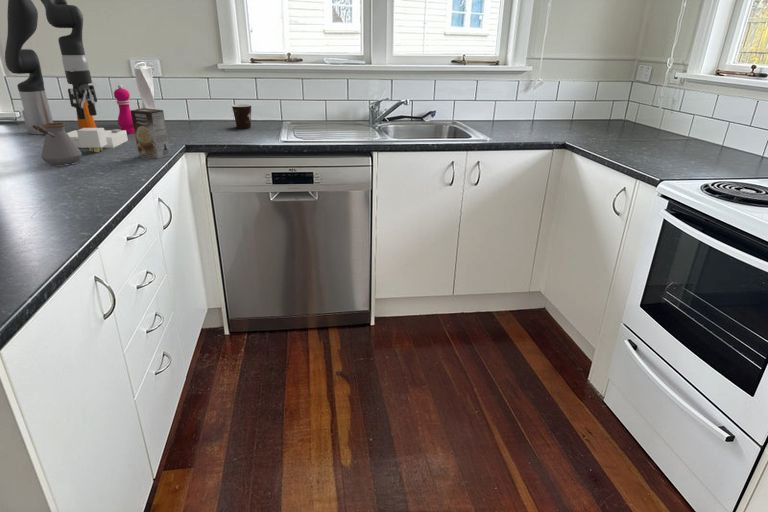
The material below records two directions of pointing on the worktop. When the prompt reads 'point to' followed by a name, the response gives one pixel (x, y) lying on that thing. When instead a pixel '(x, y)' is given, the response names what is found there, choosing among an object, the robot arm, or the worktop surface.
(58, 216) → the worktop surface
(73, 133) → the socket
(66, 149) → the coffee pot
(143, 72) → the skyscraper
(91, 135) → the plug
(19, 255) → the worktop surface
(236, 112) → the coffee mug
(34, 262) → the worktop surface
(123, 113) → the pepper mill
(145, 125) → the coffee box
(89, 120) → the spray bottle
